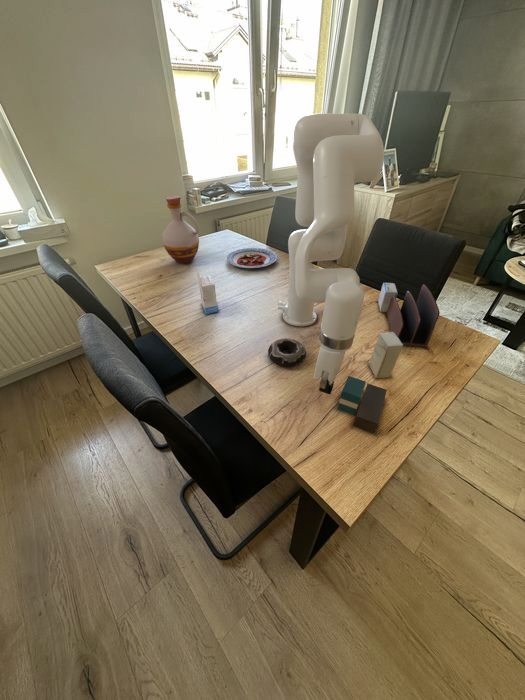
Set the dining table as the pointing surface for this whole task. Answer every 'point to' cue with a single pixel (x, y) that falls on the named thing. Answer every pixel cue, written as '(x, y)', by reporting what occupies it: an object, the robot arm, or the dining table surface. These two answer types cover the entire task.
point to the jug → (180, 233)
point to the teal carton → (351, 395)
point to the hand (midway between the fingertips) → (325, 390)
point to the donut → (287, 359)
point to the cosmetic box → (385, 354)
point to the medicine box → (386, 296)
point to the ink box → (207, 294)
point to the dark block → (370, 408)
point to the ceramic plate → (251, 258)
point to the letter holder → (414, 318)
